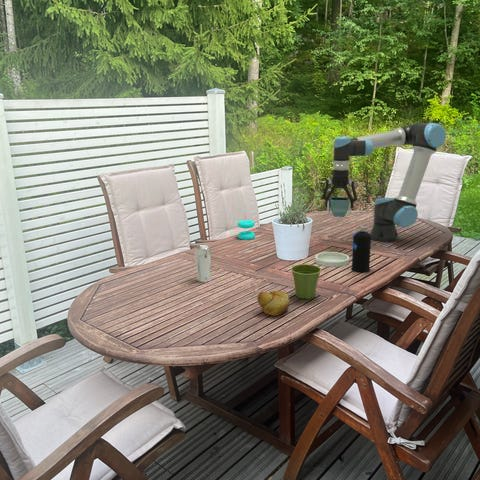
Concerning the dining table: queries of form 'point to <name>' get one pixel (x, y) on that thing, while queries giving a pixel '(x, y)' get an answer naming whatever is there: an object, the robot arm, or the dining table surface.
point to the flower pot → (339, 206)
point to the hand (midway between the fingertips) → (338, 213)
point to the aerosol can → (361, 251)
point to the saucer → (332, 259)
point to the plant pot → (305, 280)
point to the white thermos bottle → (203, 262)
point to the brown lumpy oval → (273, 302)
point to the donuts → (246, 224)
